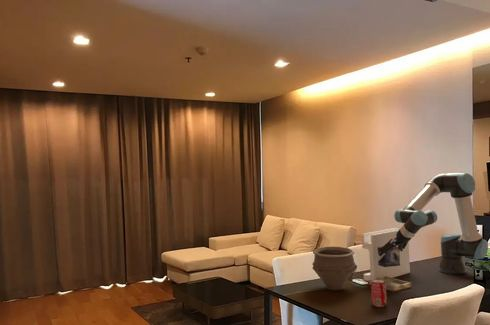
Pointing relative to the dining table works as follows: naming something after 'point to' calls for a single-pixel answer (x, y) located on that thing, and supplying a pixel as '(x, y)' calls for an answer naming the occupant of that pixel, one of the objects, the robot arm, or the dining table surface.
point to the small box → (390, 258)
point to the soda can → (378, 293)
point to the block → (372, 244)
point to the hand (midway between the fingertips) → (385, 257)
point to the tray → (393, 283)
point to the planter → (334, 266)
